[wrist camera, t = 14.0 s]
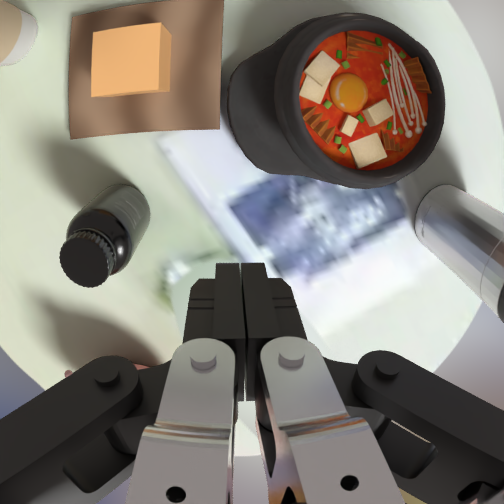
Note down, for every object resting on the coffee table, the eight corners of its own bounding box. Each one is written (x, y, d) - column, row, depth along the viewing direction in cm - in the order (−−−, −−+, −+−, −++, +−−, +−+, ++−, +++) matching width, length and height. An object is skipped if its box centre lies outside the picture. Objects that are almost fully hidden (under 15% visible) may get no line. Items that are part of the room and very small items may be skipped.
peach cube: (171, 35, 25) (160, 22, 20) (169, 91, 28) (158, 89, 23) (113, 41, 24) (93, 32, 20) (112, 96, 27) (91, 97, 22)
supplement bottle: (90, 188, 33) (38, 229, 22) (145, 178, 33) (110, 217, 22) (103, 242, 36) (63, 299, 25) (156, 236, 36) (131, 295, 25)
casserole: (418, 16, 26) (460, 5, 18) (443, 160, 34) (486, 178, 27) (205, 42, 27) (199, 23, 19) (253, 205, 35) (260, 236, 28)
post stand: (223, 2, 25) (223, -16, 20) (219, 128, 31) (218, 133, 26) (77, 19, 24) (54, 9, 19) (76, 137, 30) (52, 145, 25)
